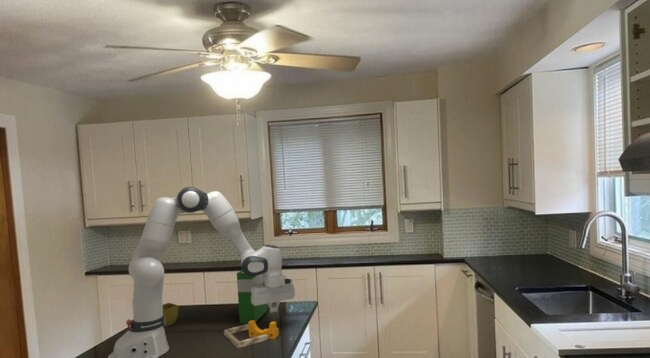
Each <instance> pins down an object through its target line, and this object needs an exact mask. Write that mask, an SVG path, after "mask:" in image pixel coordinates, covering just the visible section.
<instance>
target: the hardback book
mask: <svg viewBox="0 0 650 358" xmlns="http://www.w3.org/2000/svg"><path fill="white" fill-rule="evenodd" d="M259 283H263V274H260V275H256V276H248V275H246V274H245V273H244V272H243V270H242V269H241V270H240V271H238V272H236V285H237V299H238V301H237V302H238V311H239V312H238V313H239V315H238V316H239V324H248V322H250V321H251V320H255V323H256V322H258V321H259V320H260V318H261V317H262V316H264V315H265V313H267V312H268V305H267V304H263V305H257V306H254V305H253V304H252V303H251V287H252V286H253V285H254V284H259ZM253 287H254V286H253ZM256 324H257V323H256Z"/></svg>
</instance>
